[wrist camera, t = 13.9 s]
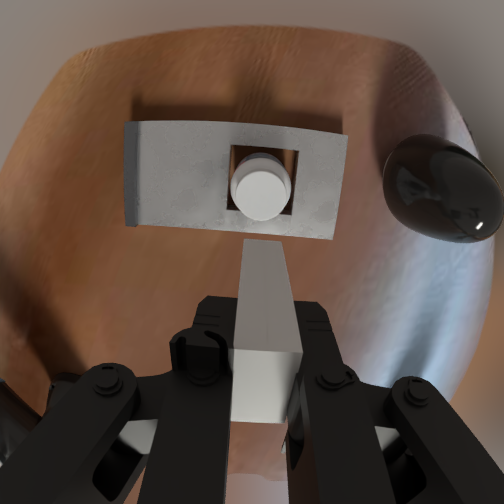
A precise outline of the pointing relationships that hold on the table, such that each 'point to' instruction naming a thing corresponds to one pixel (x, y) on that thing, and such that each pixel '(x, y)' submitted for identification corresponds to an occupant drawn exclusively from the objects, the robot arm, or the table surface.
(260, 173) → the pill bottle
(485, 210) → the pump dispenser
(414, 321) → the table surface
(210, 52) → the table surface
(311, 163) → the jig
